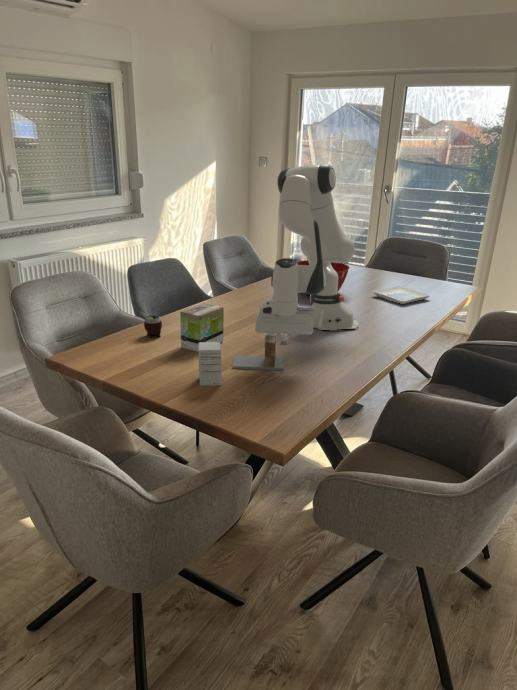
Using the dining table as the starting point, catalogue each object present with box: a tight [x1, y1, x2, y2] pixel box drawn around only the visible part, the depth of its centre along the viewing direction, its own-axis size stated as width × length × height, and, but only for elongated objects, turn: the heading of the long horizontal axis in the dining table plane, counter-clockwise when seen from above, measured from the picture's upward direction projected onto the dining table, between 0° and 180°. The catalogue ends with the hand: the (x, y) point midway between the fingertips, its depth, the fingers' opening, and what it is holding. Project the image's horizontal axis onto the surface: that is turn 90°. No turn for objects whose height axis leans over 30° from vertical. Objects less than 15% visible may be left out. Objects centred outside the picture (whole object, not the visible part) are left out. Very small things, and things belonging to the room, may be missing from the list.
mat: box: [231, 355, 285, 371], centre depth 190 cm, size 18×10×1 cm, turn 86°
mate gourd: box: [143, 298, 166, 339], centre depth 213 cm, size 8×8×15 cm
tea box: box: [179, 302, 225, 353], centre depth 204 cm, size 15×10×15 cm, turn 148°
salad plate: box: [371, 285, 431, 305], centre depth 271 cm, size 21×21×3 cm
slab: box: [264, 333, 277, 367], centre depth 188 cm, size 4×8×10 cm, turn 176°
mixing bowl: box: [297, 259, 351, 296], centre depth 274 cm, size 28×28×16 cm
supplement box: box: [197, 342, 223, 387], centre depth 174 cm, size 7×7×13 cm
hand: (283, 344), depth 187 cm, fingers closed
